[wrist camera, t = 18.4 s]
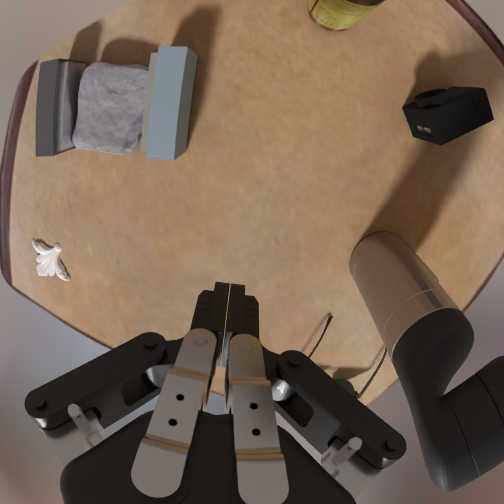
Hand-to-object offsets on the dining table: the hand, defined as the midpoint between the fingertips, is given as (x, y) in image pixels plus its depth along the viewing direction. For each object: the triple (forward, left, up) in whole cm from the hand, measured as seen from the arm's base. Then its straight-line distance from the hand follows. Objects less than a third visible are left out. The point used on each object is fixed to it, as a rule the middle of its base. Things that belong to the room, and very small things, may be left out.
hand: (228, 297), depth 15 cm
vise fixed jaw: (+24, -9, -23) cm, 34 cm away
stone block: (+17, -8, -24) cm, 30 cm away
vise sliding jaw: (+9, -9, -23) cm, 26 cm away
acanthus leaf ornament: (+31, +16, -24) cm, 42 cm away
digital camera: (-23, -16, -23) cm, 36 cm away
